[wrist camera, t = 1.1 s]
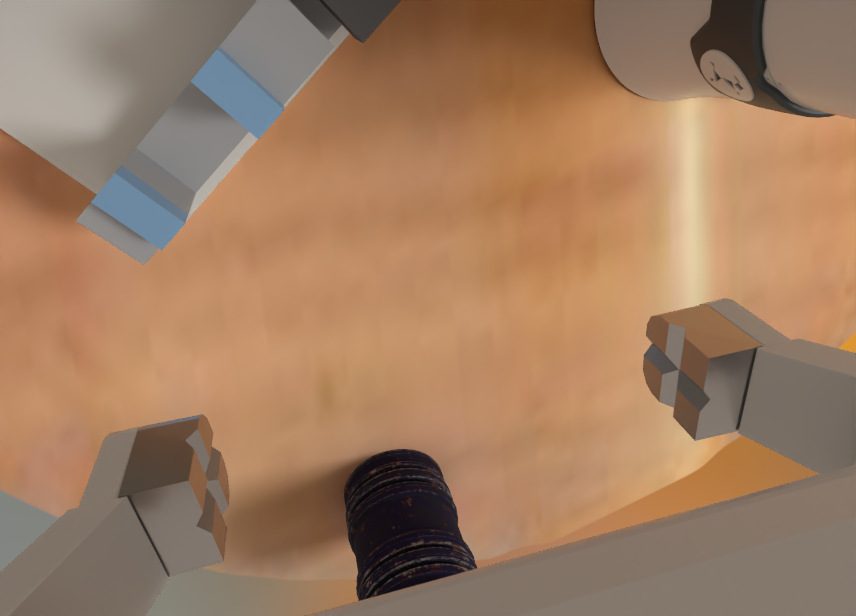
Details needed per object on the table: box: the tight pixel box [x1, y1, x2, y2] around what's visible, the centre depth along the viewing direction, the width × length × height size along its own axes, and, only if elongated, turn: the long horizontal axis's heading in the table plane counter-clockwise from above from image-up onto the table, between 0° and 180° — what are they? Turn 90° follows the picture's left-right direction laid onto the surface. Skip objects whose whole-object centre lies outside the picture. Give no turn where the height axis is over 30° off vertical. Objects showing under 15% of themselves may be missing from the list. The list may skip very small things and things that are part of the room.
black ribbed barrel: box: [344, 449, 477, 601], centre depth 50 cm, size 10×10×15 cm
